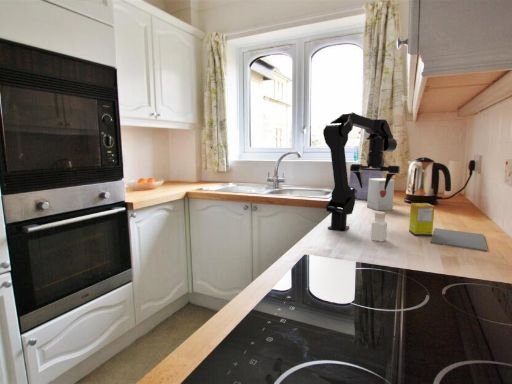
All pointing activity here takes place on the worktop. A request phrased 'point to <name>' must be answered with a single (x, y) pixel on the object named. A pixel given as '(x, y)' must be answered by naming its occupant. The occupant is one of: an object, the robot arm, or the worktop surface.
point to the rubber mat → (459, 239)
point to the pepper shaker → (379, 227)
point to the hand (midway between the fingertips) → (373, 189)
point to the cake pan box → (367, 174)
